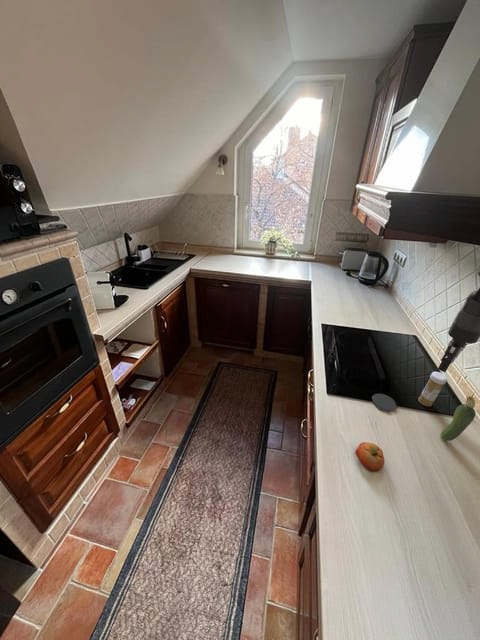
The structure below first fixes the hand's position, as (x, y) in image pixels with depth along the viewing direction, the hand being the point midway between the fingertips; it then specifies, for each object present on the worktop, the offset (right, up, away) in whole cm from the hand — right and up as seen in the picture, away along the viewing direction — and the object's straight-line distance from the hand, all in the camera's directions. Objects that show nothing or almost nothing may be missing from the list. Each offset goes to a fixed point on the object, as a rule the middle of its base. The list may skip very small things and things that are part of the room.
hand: (445, 365), depth 86 cm
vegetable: (-4, -24, -5) cm, 25 cm away
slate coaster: (-16, -16, +8) cm, 24 cm away
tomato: (-32, -26, -10) cm, 42 cm away
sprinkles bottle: (0, -16, +9) cm, 18 cm away
